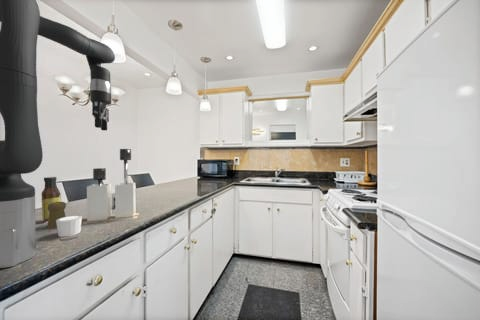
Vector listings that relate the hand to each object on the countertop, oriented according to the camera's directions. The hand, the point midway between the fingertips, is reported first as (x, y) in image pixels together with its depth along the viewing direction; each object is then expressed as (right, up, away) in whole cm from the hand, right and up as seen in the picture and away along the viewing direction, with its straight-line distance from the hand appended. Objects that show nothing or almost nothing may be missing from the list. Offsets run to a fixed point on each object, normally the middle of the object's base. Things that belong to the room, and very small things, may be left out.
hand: (101, 129), depth 83 cm
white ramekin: (0, -42, -16) cm, 45 cm away
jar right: (+9, -40, +4) cm, 41 cm away
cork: (-11, -42, -9) cm, 44 cm away
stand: (+4, -41, +2) cm, 42 cm away
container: (-4, -41, +22) cm, 47 cm away
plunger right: (+9, -29, +4) cm, 31 cm away
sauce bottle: (-24, -42, +2) cm, 48 cm away
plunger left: (-1, -38, 0) cm, 38 cm away
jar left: (-1, -40, 0) cm, 40 cm away
